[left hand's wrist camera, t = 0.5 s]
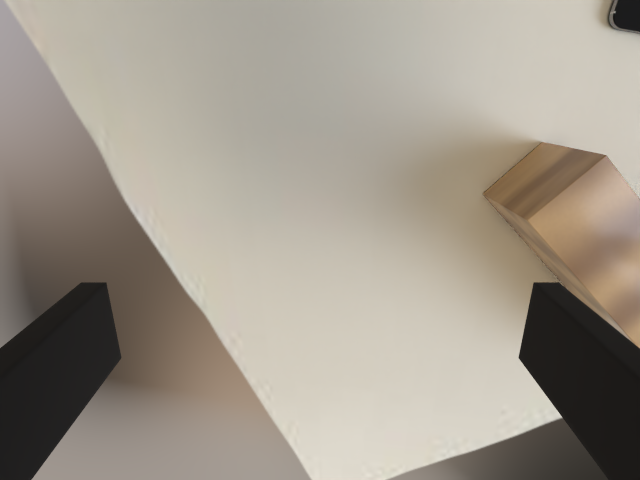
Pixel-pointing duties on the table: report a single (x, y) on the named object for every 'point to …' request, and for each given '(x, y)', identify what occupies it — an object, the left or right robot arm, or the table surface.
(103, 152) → the table surface
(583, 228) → the box
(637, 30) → the smartphone
